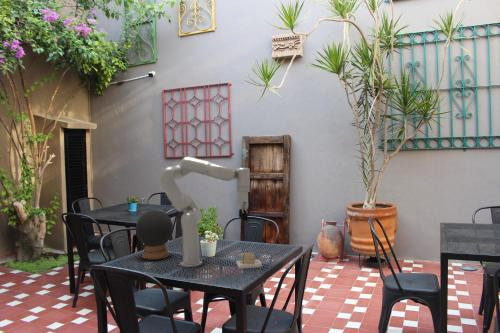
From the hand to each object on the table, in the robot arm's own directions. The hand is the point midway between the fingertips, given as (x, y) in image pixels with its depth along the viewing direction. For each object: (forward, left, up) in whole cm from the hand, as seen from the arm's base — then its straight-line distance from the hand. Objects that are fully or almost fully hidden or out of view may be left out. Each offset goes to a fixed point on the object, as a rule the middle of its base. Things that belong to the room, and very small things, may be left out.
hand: (243, 218), depth 255 cm
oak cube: (+2, +2, -26) cm, 26 cm away
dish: (+2, +2, -27) cm, 27 cm away
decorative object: (-36, -51, -27) cm, 68 cm away
